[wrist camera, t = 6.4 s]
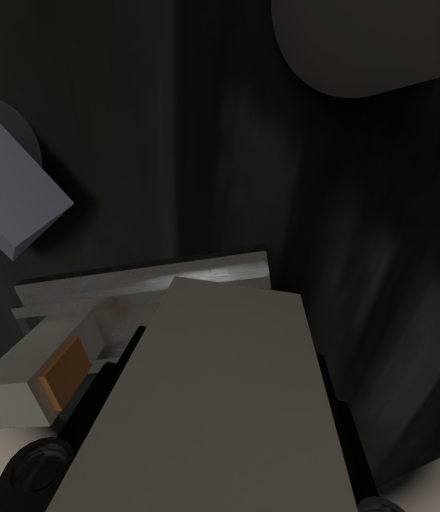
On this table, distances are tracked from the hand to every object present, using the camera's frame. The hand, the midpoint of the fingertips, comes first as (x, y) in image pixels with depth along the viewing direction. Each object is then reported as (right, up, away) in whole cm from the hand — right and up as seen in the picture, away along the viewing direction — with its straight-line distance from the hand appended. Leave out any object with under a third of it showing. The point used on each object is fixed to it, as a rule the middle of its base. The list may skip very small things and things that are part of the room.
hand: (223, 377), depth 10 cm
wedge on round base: (-19, +12, +19) cm, 30 cm away
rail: (-7, -2, +23) cm, 24 cm away
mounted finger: (-15, -4, +23) cm, 28 cm away
